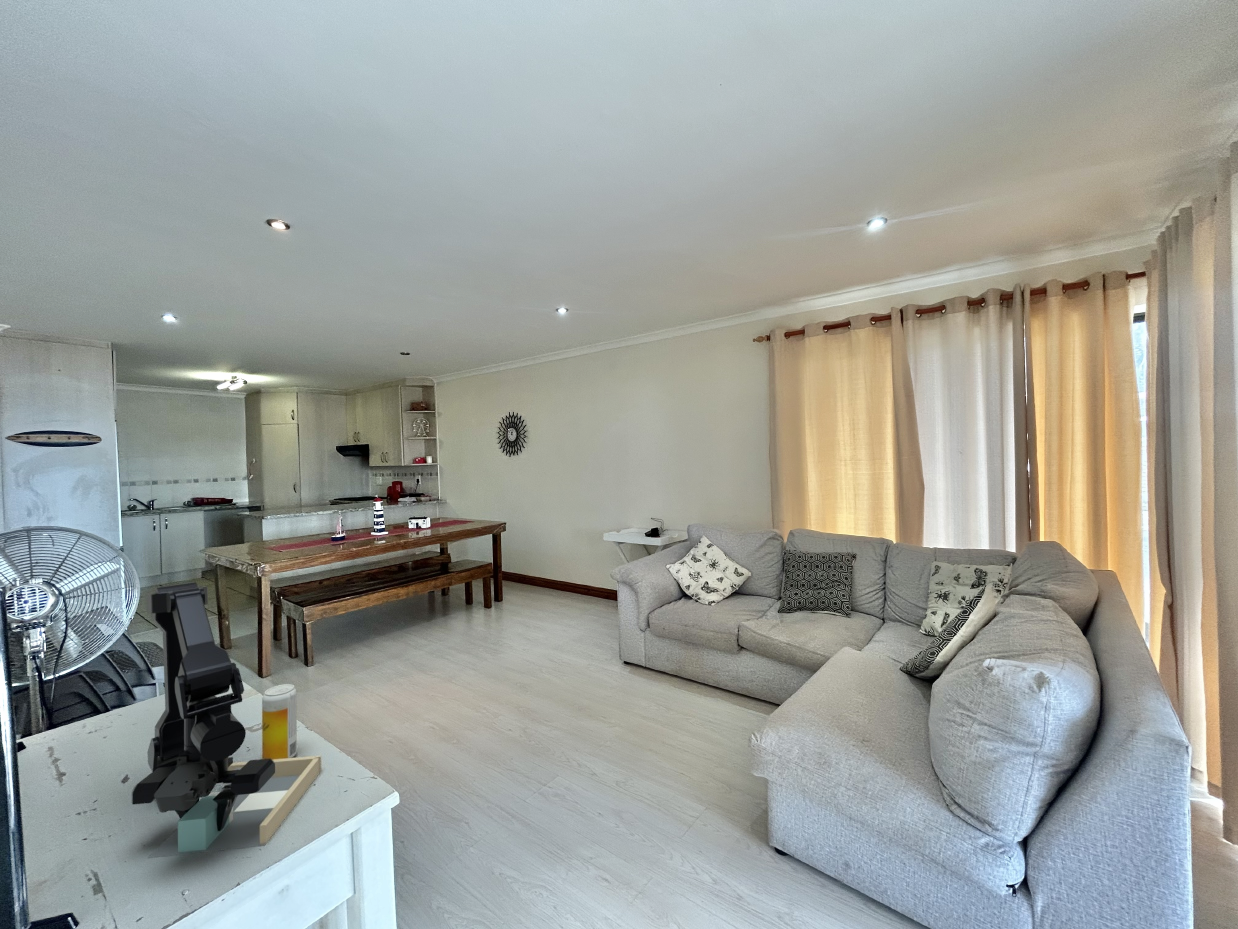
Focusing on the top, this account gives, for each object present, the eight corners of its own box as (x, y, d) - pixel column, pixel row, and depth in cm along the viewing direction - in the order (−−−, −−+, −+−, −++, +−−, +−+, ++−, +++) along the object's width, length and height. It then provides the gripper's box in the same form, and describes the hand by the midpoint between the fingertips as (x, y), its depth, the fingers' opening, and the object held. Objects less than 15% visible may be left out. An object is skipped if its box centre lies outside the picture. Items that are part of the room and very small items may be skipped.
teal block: (177, 852, 80) (177, 821, 80) (207, 821, 87) (207, 792, 87) (205, 849, 80) (205, 818, 80) (233, 819, 87) (232, 790, 87)
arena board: (147, 861, 79) (147, 838, 79) (229, 781, 99) (229, 763, 99) (264, 849, 81) (264, 827, 81) (321, 773, 101) (321, 755, 101)
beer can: (273, 752, 109) (273, 683, 109) (302, 751, 110) (302, 682, 110) (255, 769, 103) (255, 696, 103) (286, 767, 104) (286, 695, 104)
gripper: (100, 771, 74) (100, 876, 74) (238, 760, 77) (238, 861, 77) (158, 732, 85) (158, 824, 85) (276, 724, 88) (276, 812, 88)
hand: (206, 831), depth 84 cm, fingers closed on teal block, 4 cm apart
